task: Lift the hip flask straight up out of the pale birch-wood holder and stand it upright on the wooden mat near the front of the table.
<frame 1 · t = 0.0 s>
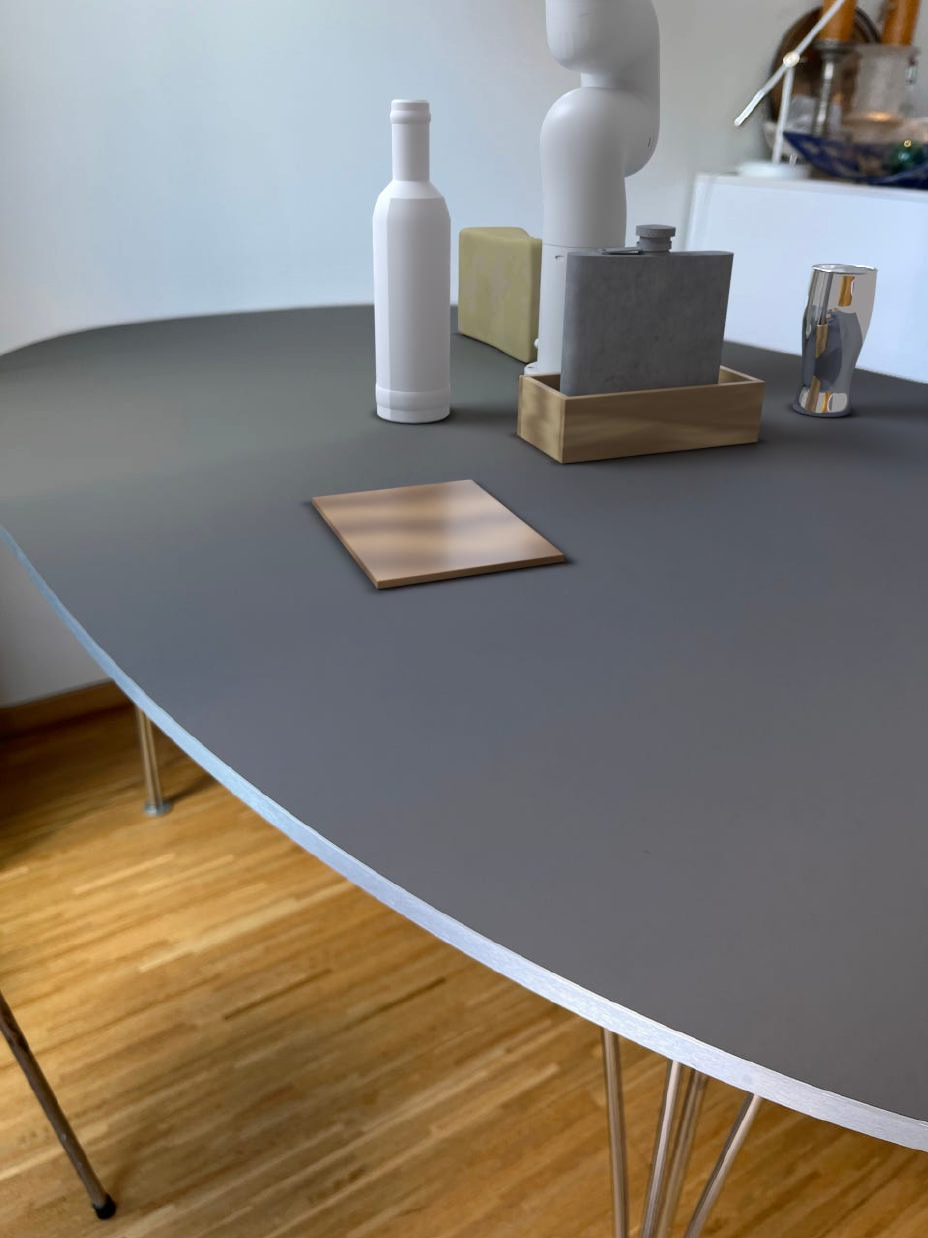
holder: (636, 438, 103), on the table
cheese: (509, 348, 142), on the table
hip flask: (636, 440, 103), resting in holder
bottle: (413, 415, 110), on the table
wooden mat: (429, 531, 79), on the table
beer glass: (820, 411, 114), on the table
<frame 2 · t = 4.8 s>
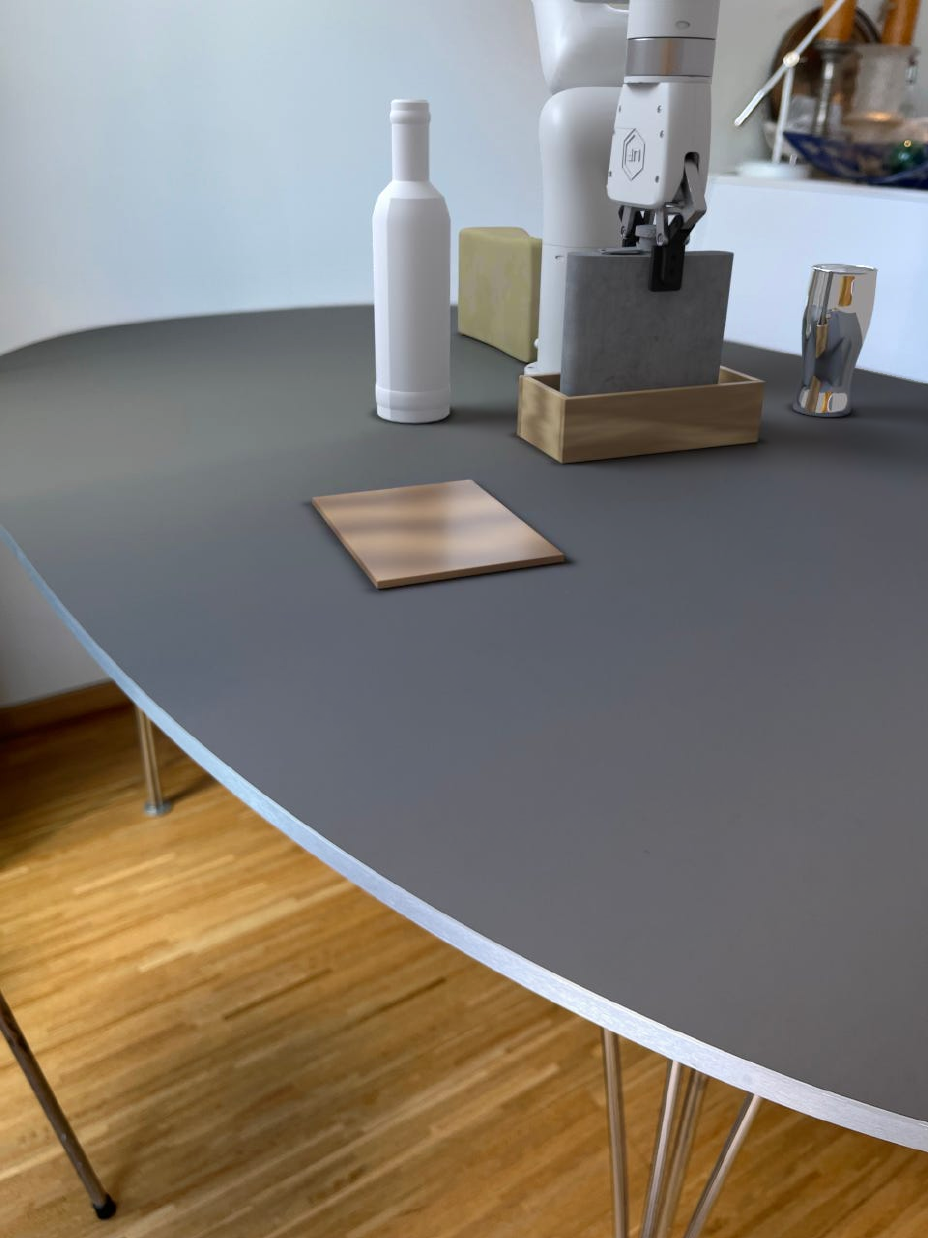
hand: (649, 284, 96), 15 cm above the table, tool pointing down, fingers closed on hip flask, 4 cm apart
hip flask: (636, 440, 103), resting in holder, touching gripper
everything else where it was.
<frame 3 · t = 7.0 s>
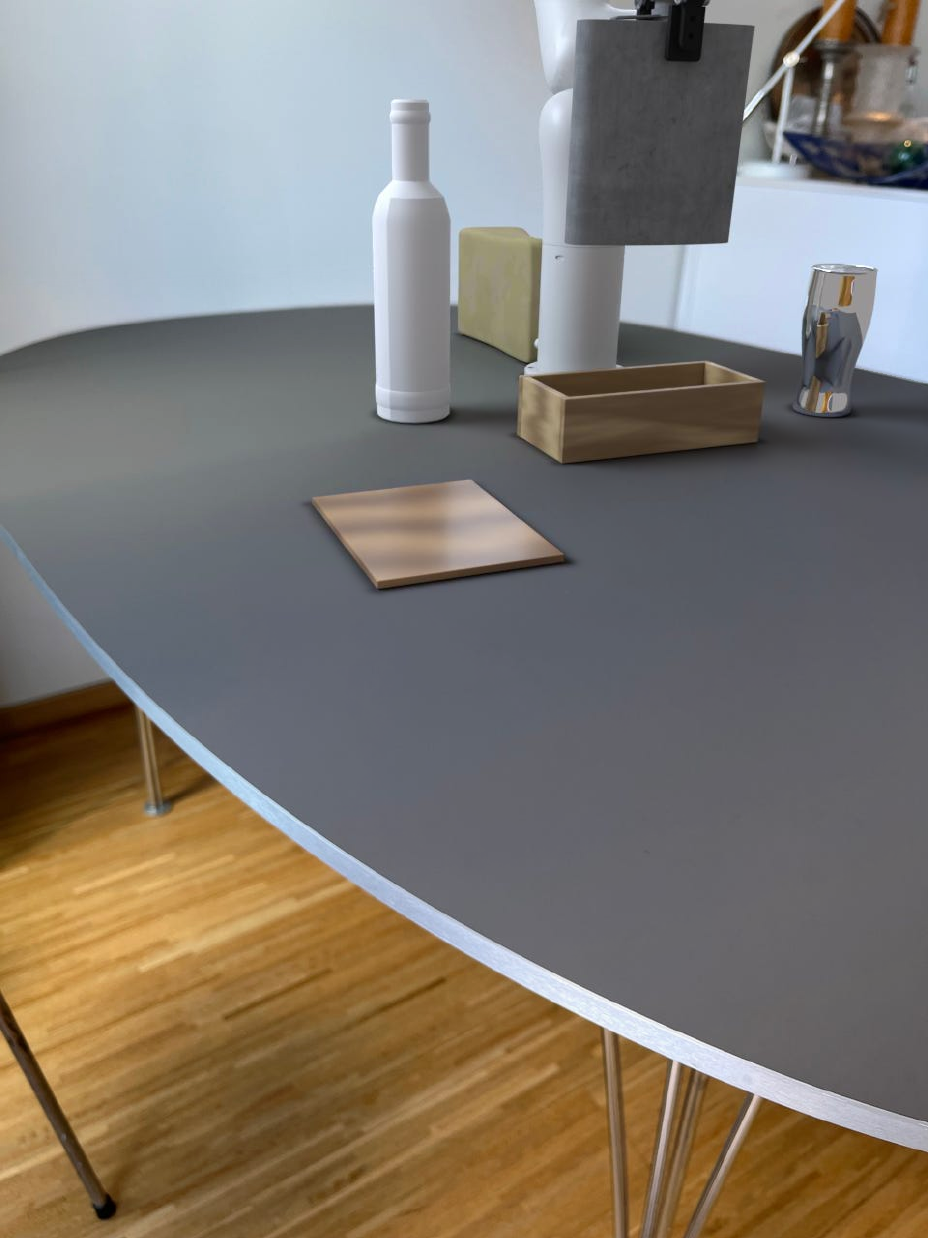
hand: (666, 59, 88), 33 cm above the table, tool pointing down, fingers closed on hip flask, 4 cm apart
hip flask: (648, 245, 95), point 18 cm above the table, touching gripper
everything else where it was.
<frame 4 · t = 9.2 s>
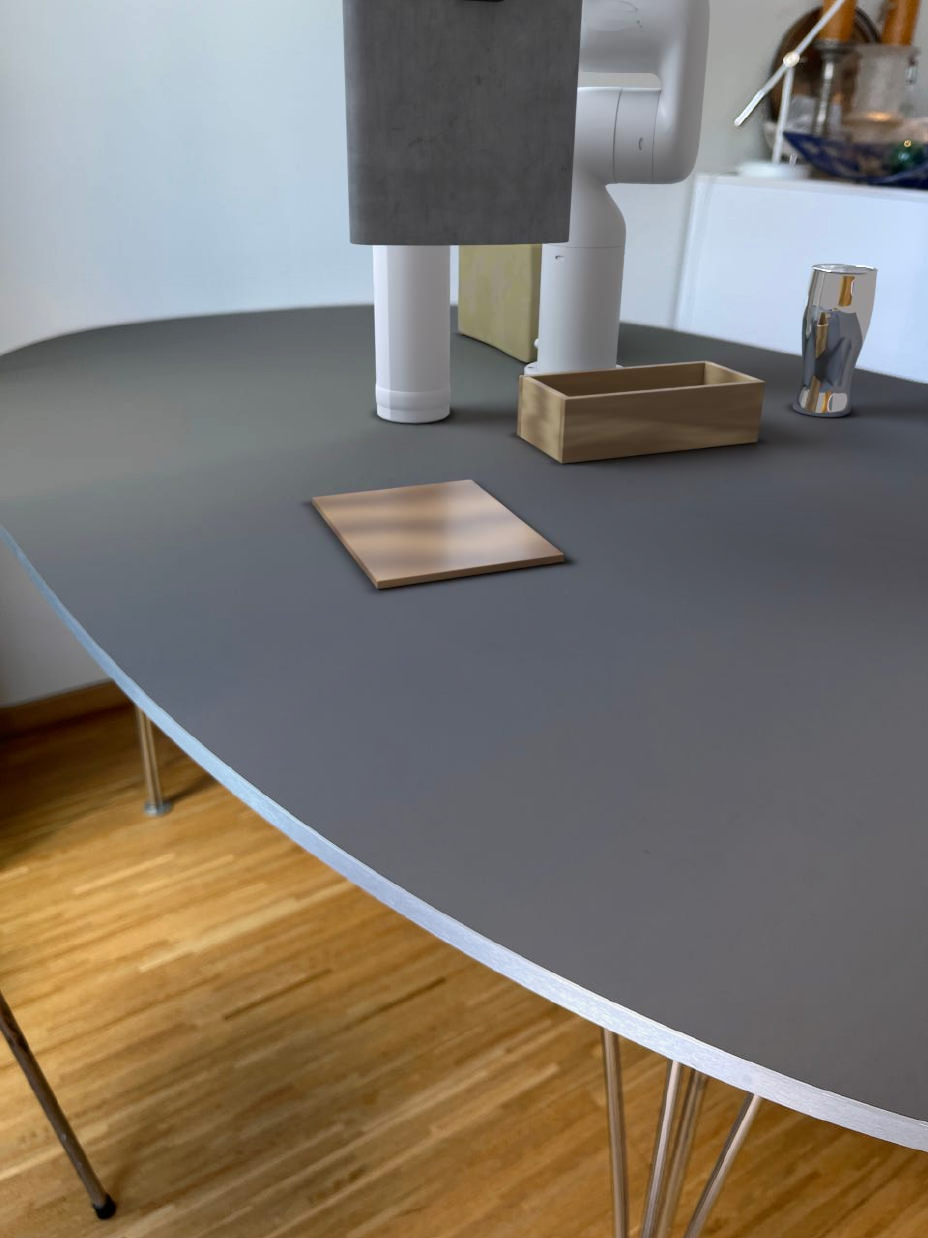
hand: (466, 0, 67), 35 cm above the table, tool pointing down, fingers closed on hip flask, 4 cm apart
hip flask: (462, 245, 73), point 20 cm above the table, touching gripper
everything else where it was.
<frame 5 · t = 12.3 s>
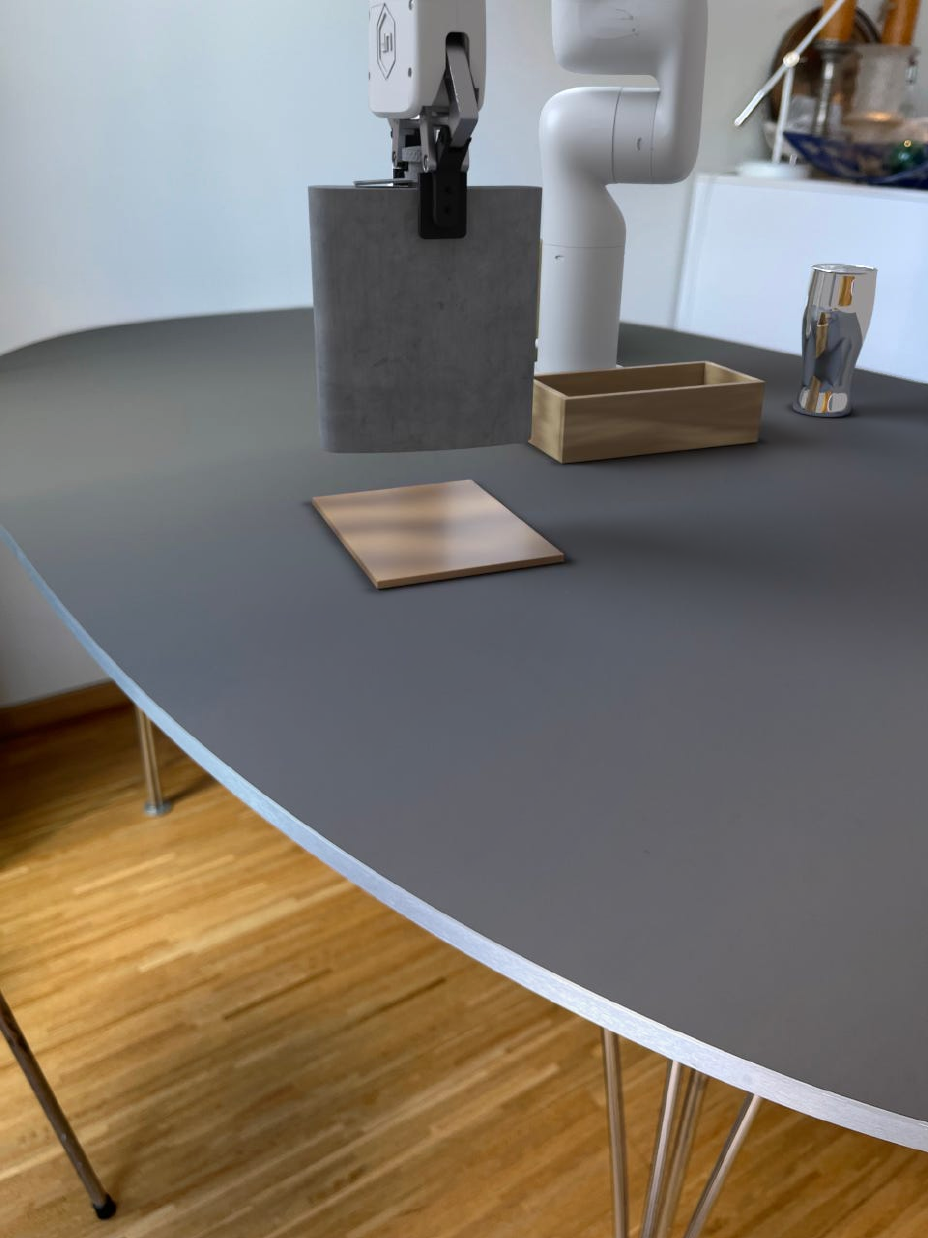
hand: (429, 231, 70), 22 cm above the table, tool pointing down, fingers closed on hip flask, 4 cm apart
hip flask: (428, 446, 76), point 7 cm above the table, touching gripper
everything else where it was.
when the fingers open (15 cm above the table, at t = 14.1 s): hip flask stays where it is, resting on wooden mat.
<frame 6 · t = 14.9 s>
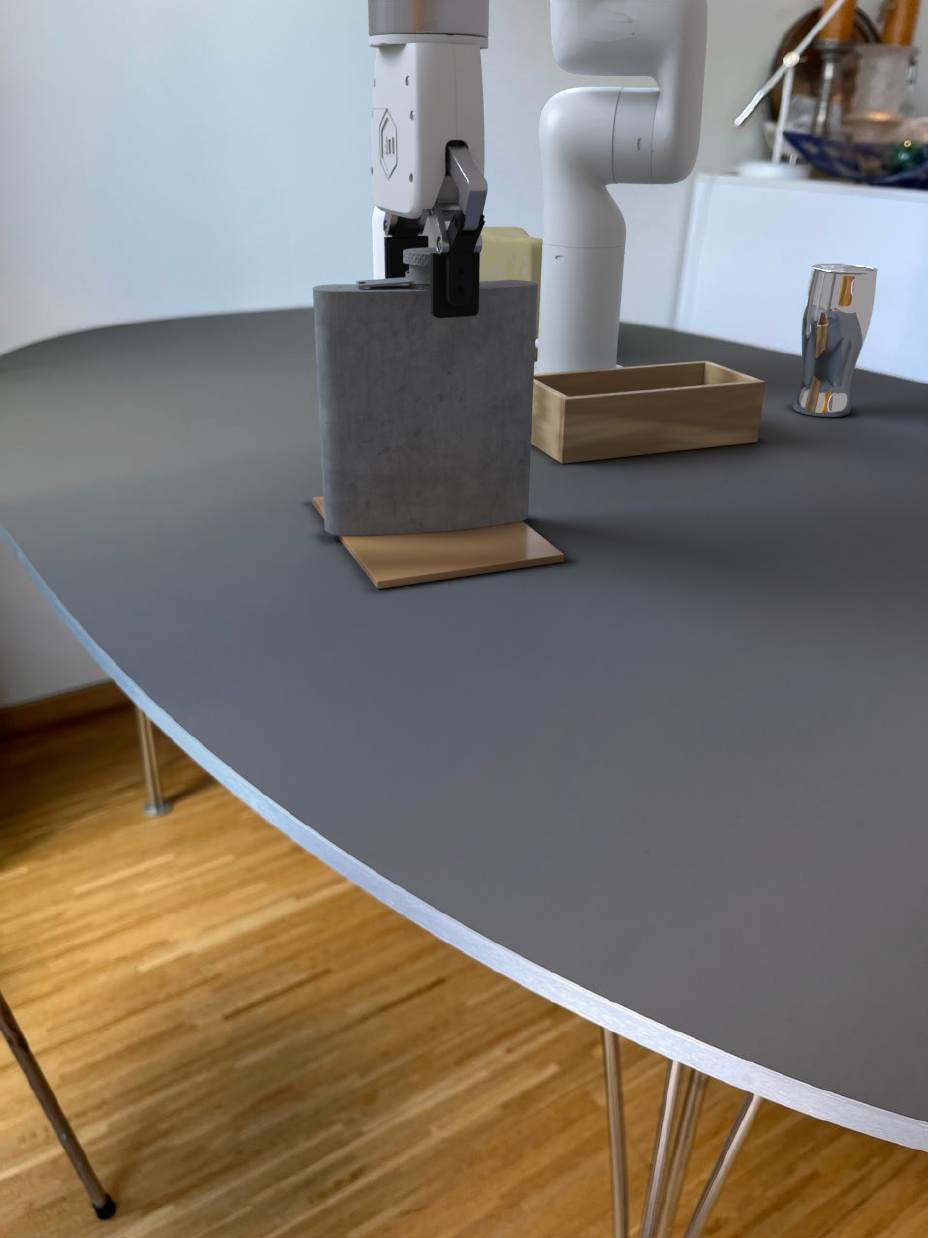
hand: (429, 304, 72), 17 cm above the table, tool pointing down, fingers open, 9 cm apart
hip flask: (429, 526, 79), resting on wooden mat
everything else where it was.
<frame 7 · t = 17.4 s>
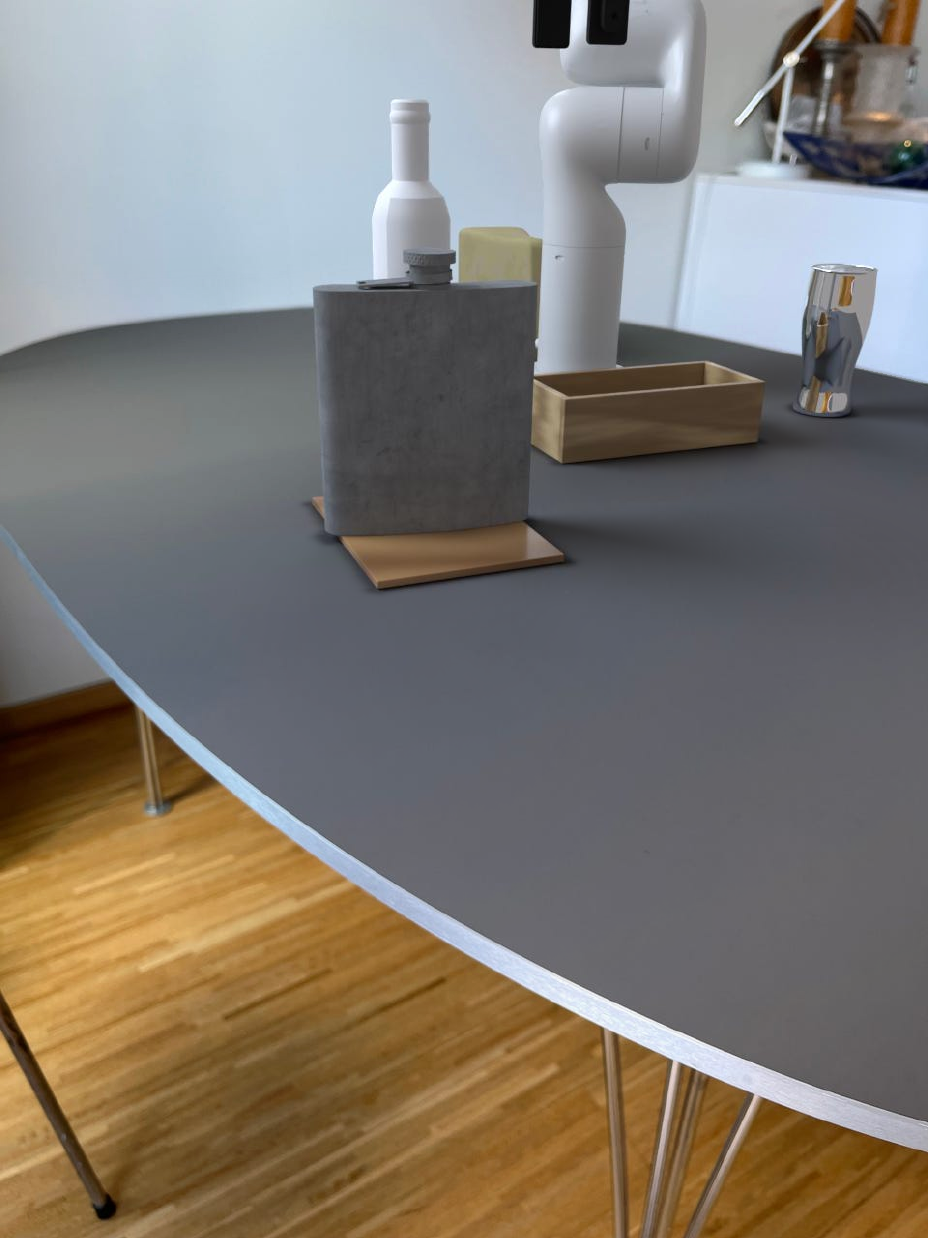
hand: (577, 46, 81), 34 cm above the table, tool pointing down, fingers open, 9 cm apart
nothing on the table moved.
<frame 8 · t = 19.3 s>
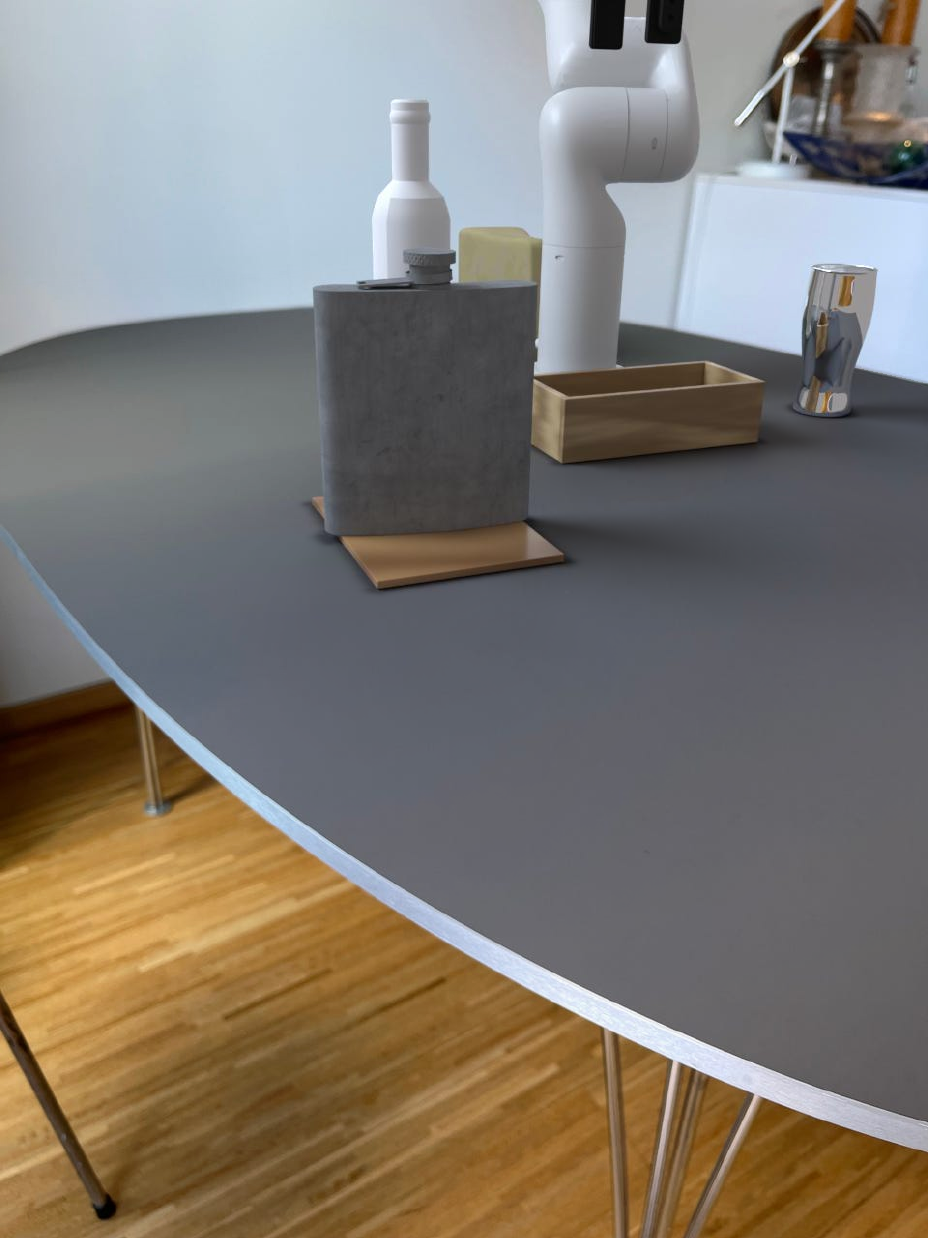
hand: (632, 46, 90), 34 cm above the table, tool pointing down, fingers open, 9 cm apart
nothing on the table moved.
at the end: hip flask inside the target area on the wooden mat (0.0 cm from its centre), point 0.4 cm above the wooden mat's base; hip flask tilted 0°; hip flask touching wooden mat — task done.
